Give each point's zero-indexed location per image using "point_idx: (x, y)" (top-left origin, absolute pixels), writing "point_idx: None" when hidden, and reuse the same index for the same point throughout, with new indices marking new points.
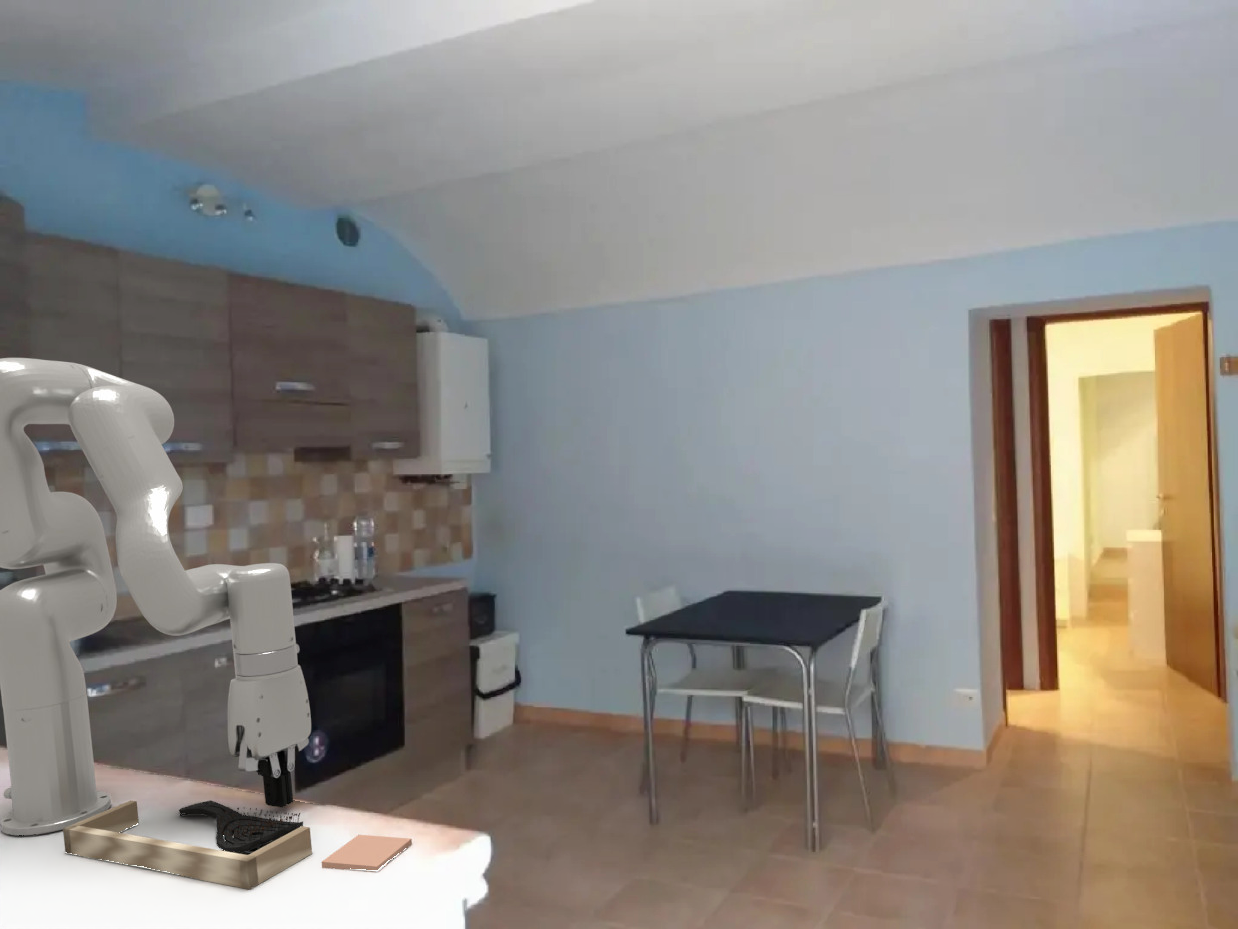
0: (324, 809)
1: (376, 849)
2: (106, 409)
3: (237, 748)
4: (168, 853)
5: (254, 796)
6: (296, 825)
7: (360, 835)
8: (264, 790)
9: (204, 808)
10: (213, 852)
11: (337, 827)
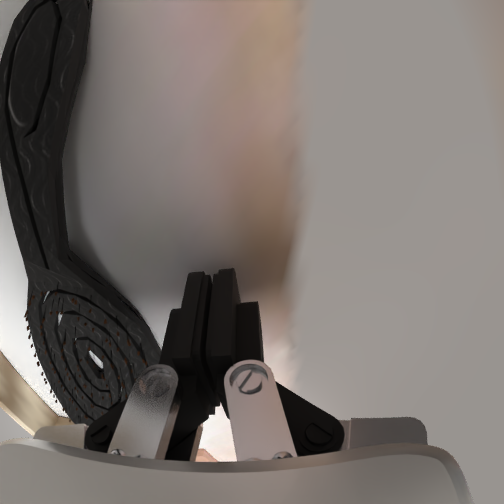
0: (275, 368)
1: None
2: None
3: (18, 466)
4: None
5: (276, 78)
6: None
7: (203, 457)
8: (165, 333)
9: (7, 185)
10: (12, 416)
11: (218, 421)
